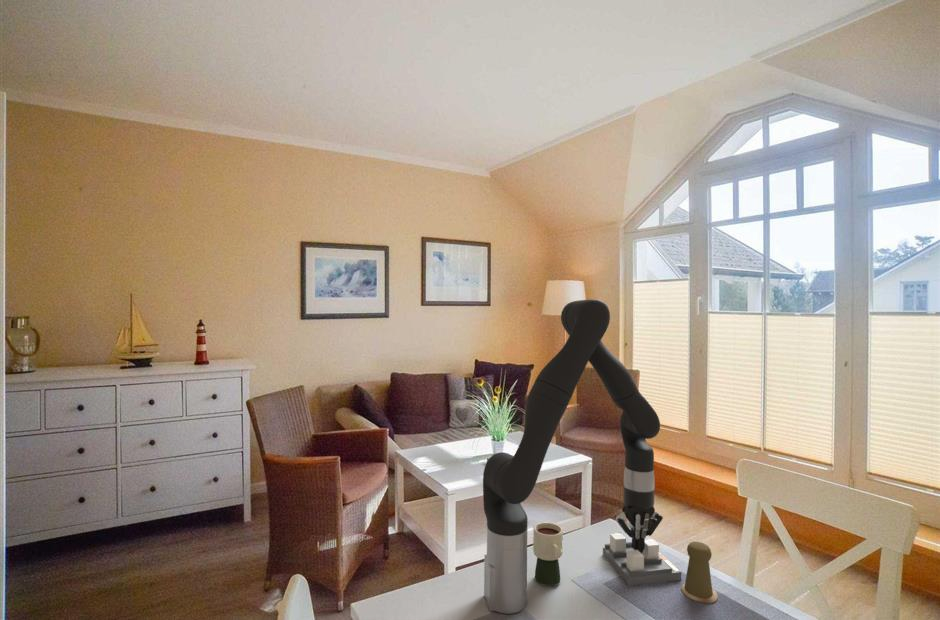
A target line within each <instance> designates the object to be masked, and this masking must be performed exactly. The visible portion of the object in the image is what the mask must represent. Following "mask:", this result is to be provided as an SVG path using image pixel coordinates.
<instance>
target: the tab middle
mask: <svg viewBox="0 0 940 620" xmlns="http://www.w3.org/2000/svg"><path fill="white" fill-rule="evenodd" d="M659 552H660V545H659V543H657V542H656V541H655V540H654V539H652V538H649V539H645V548H644V550H643V553H642V555H643V556H644V558H645V559H655V558H659Z"/></svg>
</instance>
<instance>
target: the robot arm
mask: <svg viewBox="0 0 940 620" xmlns="http://www.w3.org/2000/svg"><path fill="white" fill-rule="evenodd" d="M560 314H561V315H560V321H561V324H562V327H563V329H564V330H565V332H566V333H567V335H568V339H566V342H565V343H564V345H563V346H562V348H561V349H560V350H559V351H558V352H557V353H556V354H555V356H553V357H552V359H550V360H549V362H548V363H547V364H545V366H544V367H543V368H542V369H541V371H540V372H538V374H537V376H536V379H535V381H534V383H533V385H532V386H531V389H529V392H528V394H527V397H526V401H525V408H524V410H525V411H524V428H523V434H522V436H521V440H520V443H519V444H518V447H517V450H516V451H515V453H514V455H513V454H510V453H508V452H503V451H502V452H497V453H495V454H493V455H492V456H490V457H489V458H488V460H487V461H486V463H485V465H484V468H483V475H482V492H483V494H482V497H483V499H482V500H483V511H484V515H485V517H486V554H484V557H483V558H484V559H483V560H484V562H483V563H484V564H483V565H484V571H483V572H484V573H483V575H484V576H483V579H484V580H483V584H484V585H483V595H484V596H483V597H484V599H485V601H486V606H487V608H488V610H489V611H490V612H498V613H500V614H517V613H518V612H521V611H523V610H524V609H525V607H526V606H527V599H528V597H527V596H528V590H527V587H528V524H529V523H528V516H527V513H526V511H525V510H524V508H523V505H522V503H523V502H525V500H527V498H529V496H530V495H531V493H532V492H533V490H534V488H535V486H536V483H537V481H538V477H539V476H540V472H541V469H542V467H543V464H544V461H545V457H546V454H547V452H548V449H549V446H550V445H551V443H552V441H553V439H554V436H555V433H556V431H557V428H558V426H559V424H560V422H561V419H562V417H563V416H564V415H565V412H566V410H567V407H568V406H569V404H570V401H571V400H572V397H573V395H574V393H575V390H576V387H577V385H578V383H579V382H580V379H581V377H582V375H583V373H584V371H585V369H586V367H587V365H588V362H589V363H590V365H591V366H592V368H593V369H594V371H595V372H596V373H597V376H598V377H599V378H600V380H601V382H602V383H603V386H604V388H605V389H606V391H607V393H608V395H609V397H610V399H611V400H612V402H613V404H614V405H615V406H616V407H617V408H619V409H620V410H622V413H621V415H620V420H619V425H620V432H621V437H622V441H623V446H624V451H625V452H624V471H623V507H622V509H621V510H622V511H621V512H620V514H615V515H614V516H613V517H614V520H615V521H616V523H617V524H618V525H619V527H620V528H621V529H622V530H623V532H624V533H625V534H626V535H628V537H629V538H631V542H632V548H633V549H634V550H638V551H639V552H640V553H643V550H644V548H645V540H646V538H647V537H649V536H652V535H653V534H654V532H655V531H656V529H657V528H658V526H659V525H660V524H661V522H662V521H663V519H664V518H663V515H661V514H660V513H658V512H657V511H656V509H655V507H654V506H655V485H656V484H655V482H656V480H655V471H654V467H655V465H654V464H655V454H654V449H653V448H652V446H650V444H649V443H648V442H647V439H649V440H650V439H653V438H656V437H657V435H658V434H659V432H660V430H661V429H660V428H661V423H660V422H661V421H660V418H659V416H658V414H657V412H656V410H655V409H654V408H653V407H652V405H651V404H650V403H649V401H648V400H647V399H646V398H645V397H644V396H643V394H641V392H640V390H639V388H638V386H637V383H635V381H634V379H633V377H632V375H631V374H630V372H629V371H628V369H627V368H626V366H625V365H624V364H623V363H622V362H621V360H620V359H619V358H617V357H616V356H615V355H614V354H613V353H612V352H611V351H610V349H609V348H608V347H607V346H606V345H605V344H604V342H603V341H602V338H603V337H604V336H605V333H606V332H607V330H608V327H609V325H610V322H611V321H610V320H611V314H610V309H609V306H608V305H607V303H605V301H602V300H600V299H598V298H597V299H595V298H588V299H582V300H580V299H579V300H574V301H570V302H569V303H567V304H565V306H564V307H563V308H562V310H561V313H560ZM627 521H628V523H629V525H627V524H626V523H627ZM629 526H630V528H629Z"/></svg>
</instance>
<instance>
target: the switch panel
mask: <svg viewBox="0 0 940 620" xmlns="http://www.w3.org/2000/svg"><path fill="white" fill-rule="evenodd" d="M631 550H634V549H633V548H632V541H626V551H625V552H614V553H613V551H612V550H611V549H610V543H605V544H604V547H602V556H603V557H604V559H605V560H606V561H607V562H608V563H609V564H610V566H611V567H612V568H614V570H615V571H616V572H617V574H619V576H620V575H621V576H622V577H621V576H620V577H621V578H622V579H623V580H624V582H626V583H627V585H628V586H638V585H647V584H656V583H667V582H675V581H682V571H681V570H680V569H679V568H677V566H676V565H674V564H673V563H672V562H671V561H670V560H669V559H668V558H667V557H665V556H664V555H663V554H662V553H661V552H660V551H659V558H655V559H645V558H644V570H639V571H630V570H629V569H628V568H627V567H626V562H627V551H631ZM641 554H642V553H641Z"/></svg>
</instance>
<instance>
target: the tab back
mask: <svg viewBox="0 0 940 620" xmlns="http://www.w3.org/2000/svg"><path fill="white" fill-rule="evenodd" d="M626 542H627V538H626V537H625V536H624V535H623V534H622V533H621V532H619V533H616V532H615V533H610V534H609V544H610V549H611V550H612V551H613V553H614V552H625V551H626Z"/></svg>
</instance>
